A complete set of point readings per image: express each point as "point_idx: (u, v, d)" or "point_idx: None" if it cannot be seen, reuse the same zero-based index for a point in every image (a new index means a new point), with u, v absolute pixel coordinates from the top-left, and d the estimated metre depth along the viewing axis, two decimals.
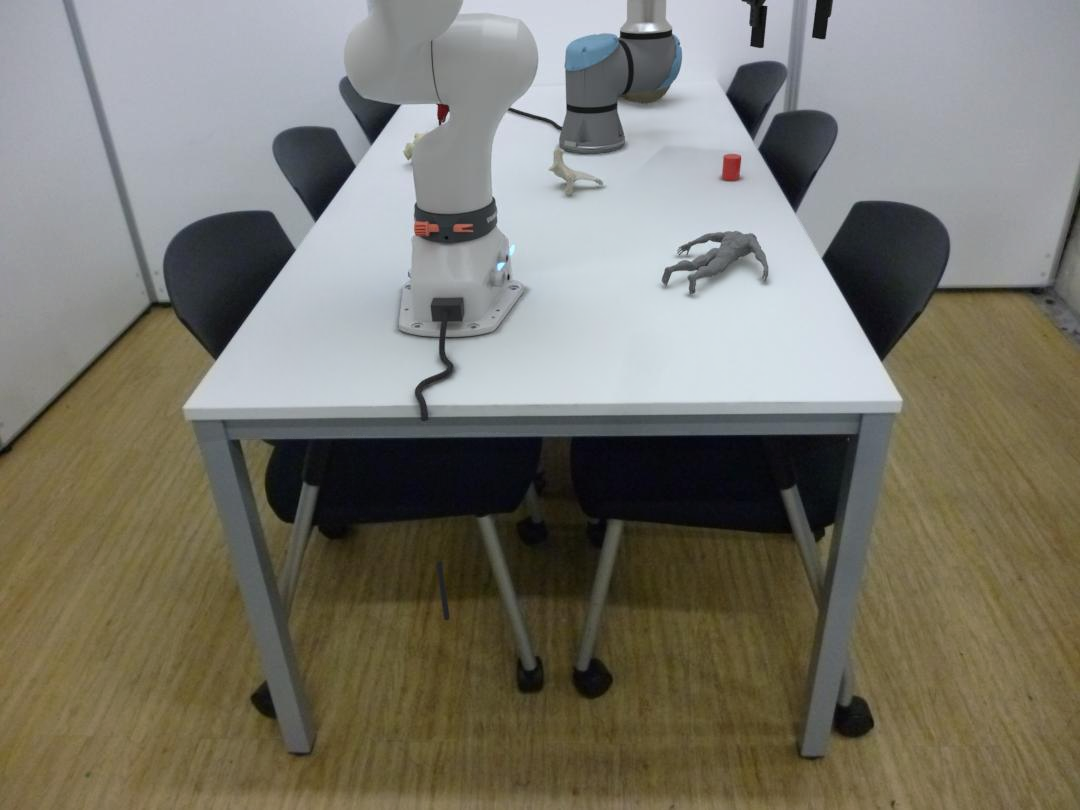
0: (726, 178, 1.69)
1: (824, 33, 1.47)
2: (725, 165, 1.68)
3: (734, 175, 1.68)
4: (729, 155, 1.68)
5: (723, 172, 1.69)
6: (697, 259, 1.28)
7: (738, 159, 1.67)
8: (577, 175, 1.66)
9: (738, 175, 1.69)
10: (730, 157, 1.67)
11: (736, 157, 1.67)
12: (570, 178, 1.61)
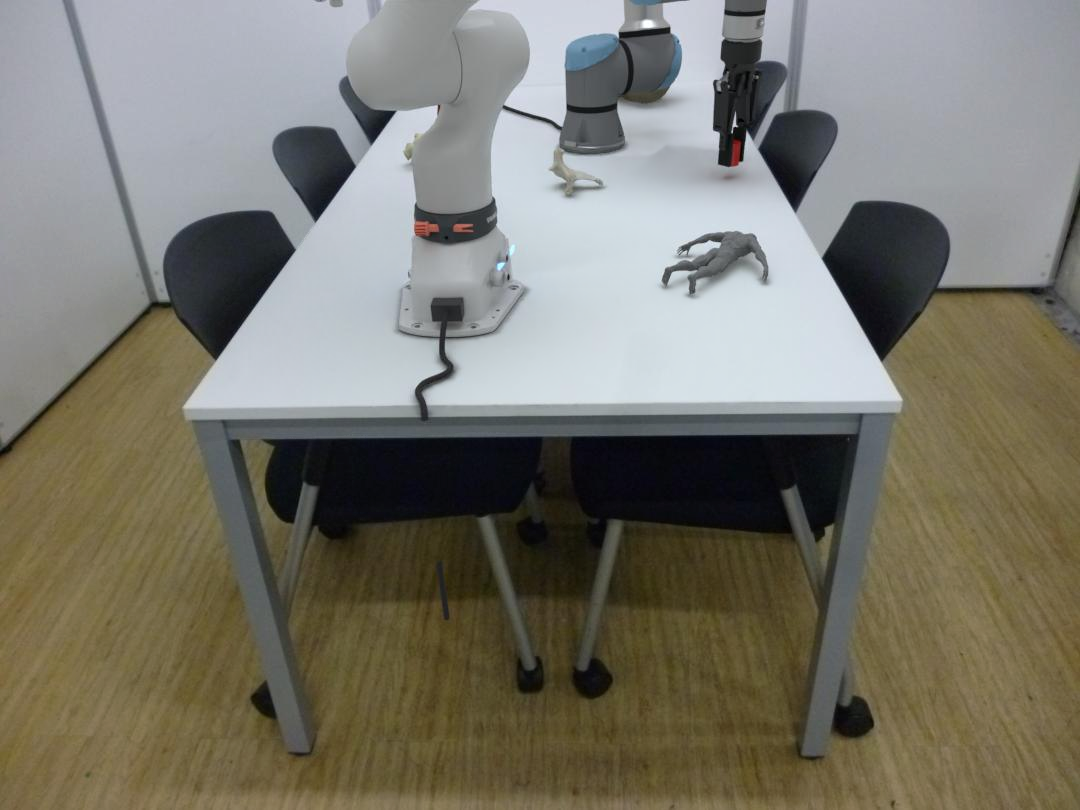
0: None
1: (742, 157, 1.69)
2: None
3: (733, 161, 1.67)
4: None
5: None
6: (697, 259, 1.28)
7: (738, 145, 1.66)
8: (577, 175, 1.66)
9: (737, 161, 1.68)
10: None
11: (735, 143, 1.66)
12: (570, 178, 1.61)
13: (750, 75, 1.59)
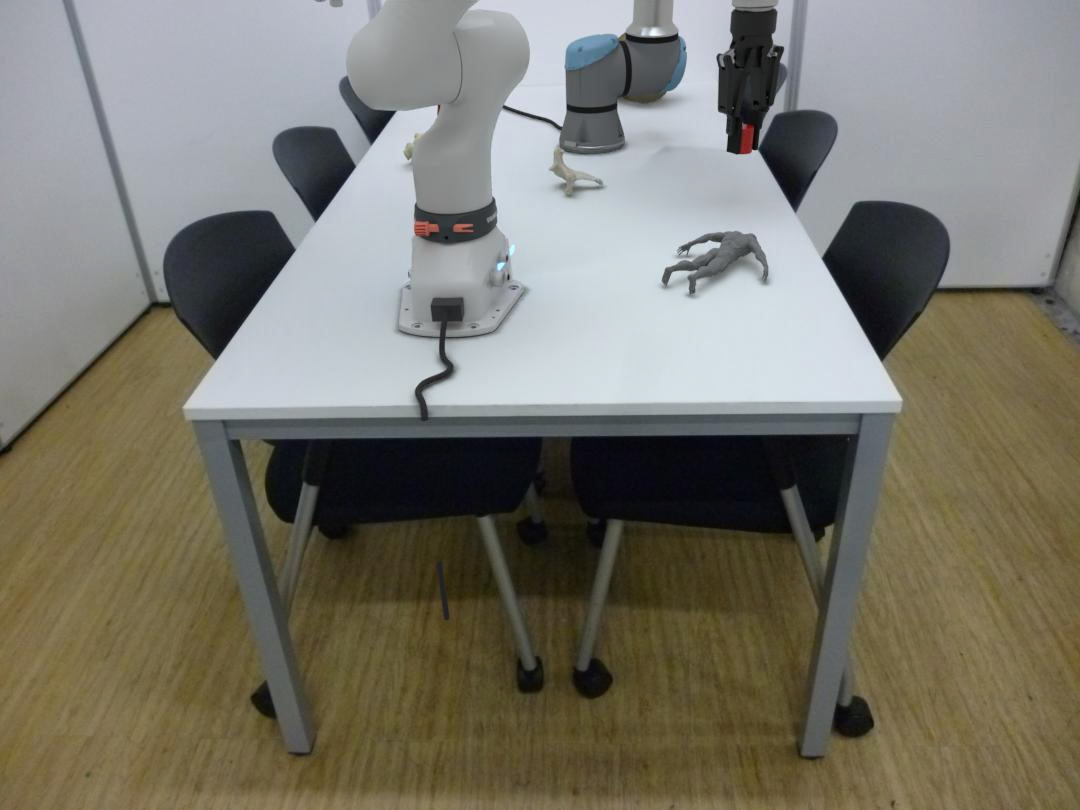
0: None
1: (756, 144, 1.50)
2: None
3: (743, 148, 1.49)
4: None
5: None
6: (697, 259, 1.28)
7: (749, 130, 1.47)
8: (577, 175, 1.66)
9: (749, 149, 1.49)
10: None
11: (746, 128, 1.47)
12: (570, 178, 1.61)
13: (763, 50, 1.41)
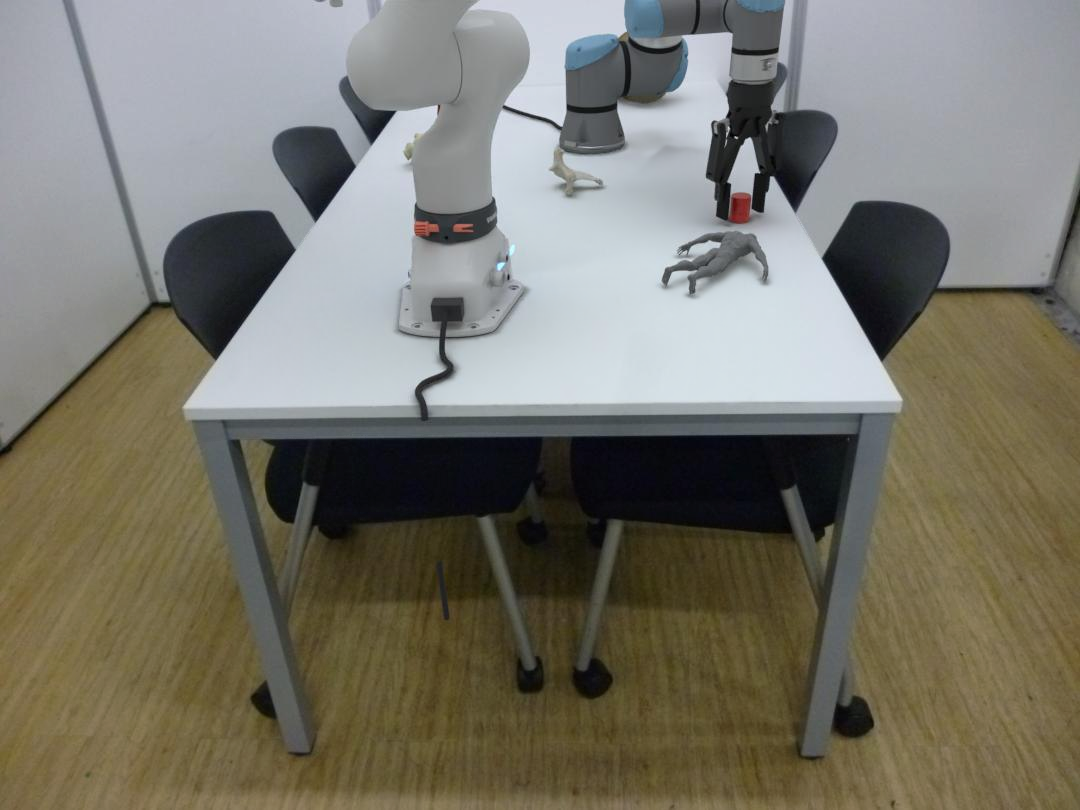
0: (731, 219, 1.49)
1: (762, 207, 1.49)
2: (731, 205, 1.48)
3: (739, 217, 1.48)
4: (738, 194, 1.48)
5: None
6: (697, 259, 1.28)
7: (745, 200, 1.46)
8: (577, 175, 1.66)
9: (745, 217, 1.48)
10: (737, 196, 1.47)
11: (743, 197, 1.47)
12: (570, 178, 1.61)
13: (760, 121, 1.39)
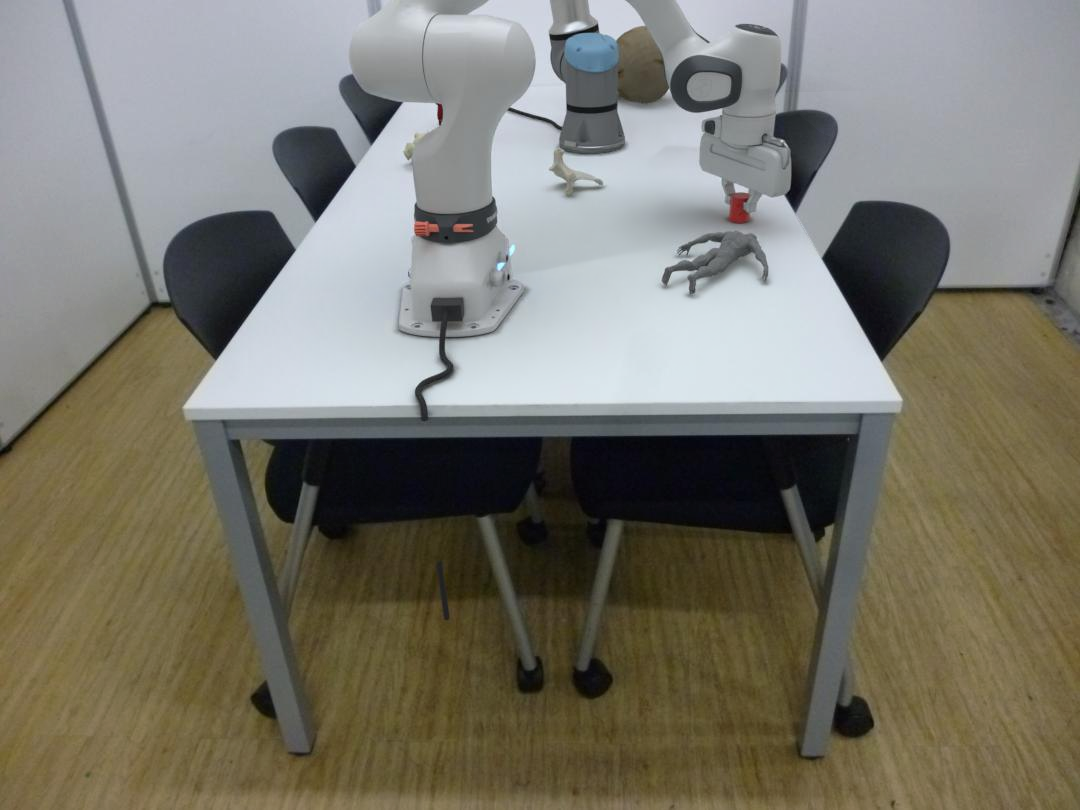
0: (731, 219, 1.49)
1: None
2: (731, 205, 1.48)
3: (739, 217, 1.48)
4: (738, 194, 1.48)
5: None
6: (697, 259, 1.28)
7: (745, 200, 1.46)
8: (577, 175, 1.66)
9: (745, 217, 1.48)
10: (737, 196, 1.47)
11: (743, 197, 1.47)
12: (570, 178, 1.61)
13: None
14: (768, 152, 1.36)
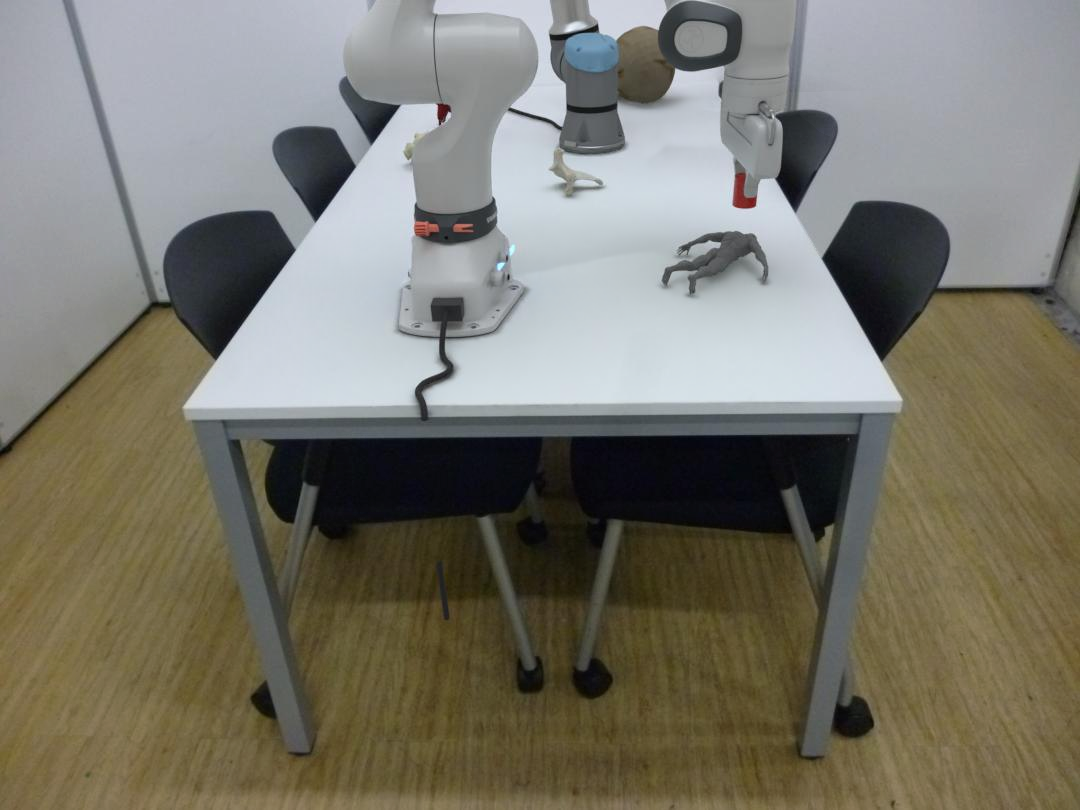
0: (732, 203, 1.26)
1: None
2: None
3: (739, 201, 1.25)
4: None
5: None
6: (697, 259, 1.28)
7: None
8: (577, 175, 1.66)
9: (747, 203, 1.24)
10: (740, 176, 1.24)
11: (745, 178, 1.23)
12: (570, 178, 1.61)
13: None
14: (755, 123, 1.13)
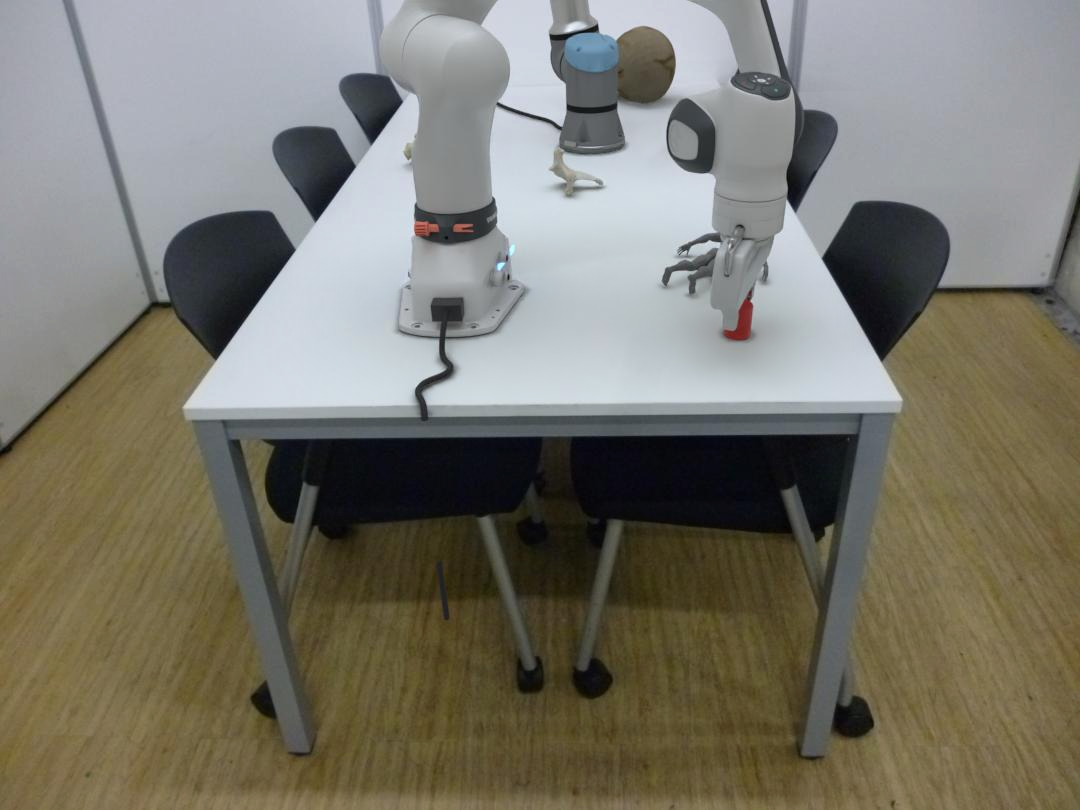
0: None
1: None
2: None
3: (726, 330, 1.12)
4: None
5: None
6: (697, 259, 1.28)
7: None
8: (577, 175, 1.66)
9: (734, 334, 1.12)
10: None
11: None
12: (570, 178, 1.61)
13: None
14: None
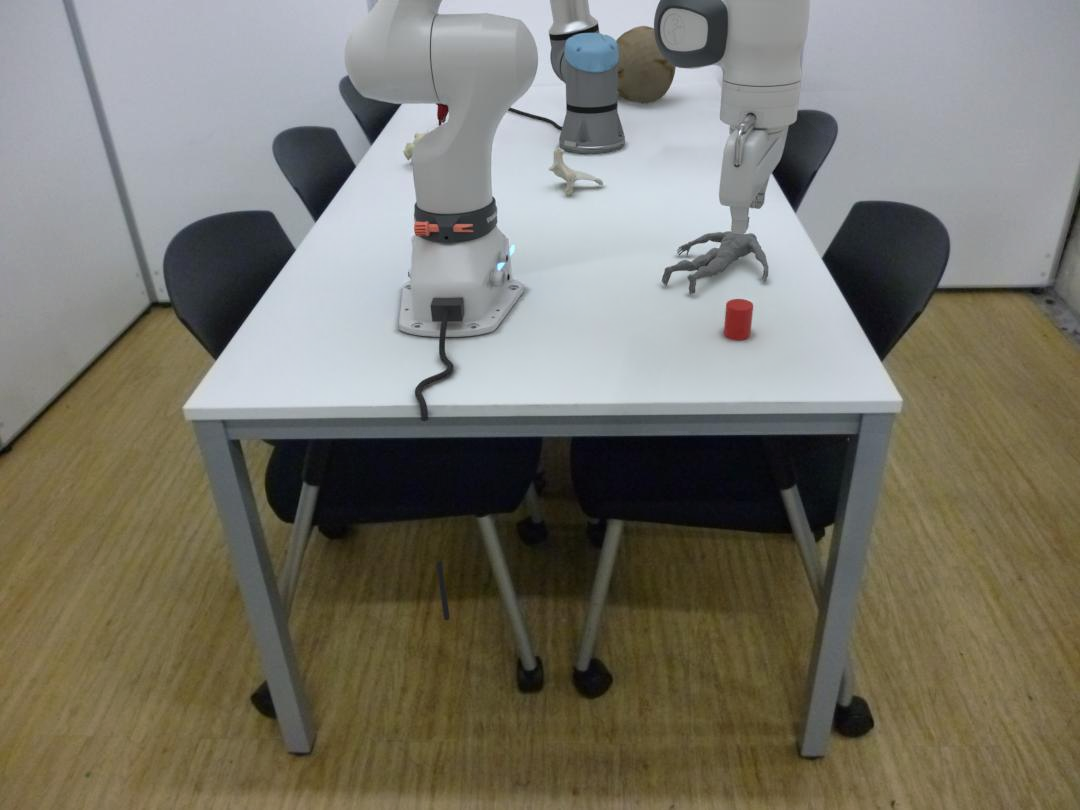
0: None
1: None
2: None
3: (726, 330, 1.12)
4: (741, 302, 1.12)
5: None
6: (697, 259, 1.28)
7: (733, 311, 1.10)
8: (577, 175, 1.66)
9: (734, 334, 1.12)
10: (732, 303, 1.11)
11: (734, 307, 1.10)
12: (570, 178, 1.61)
13: None
14: None
